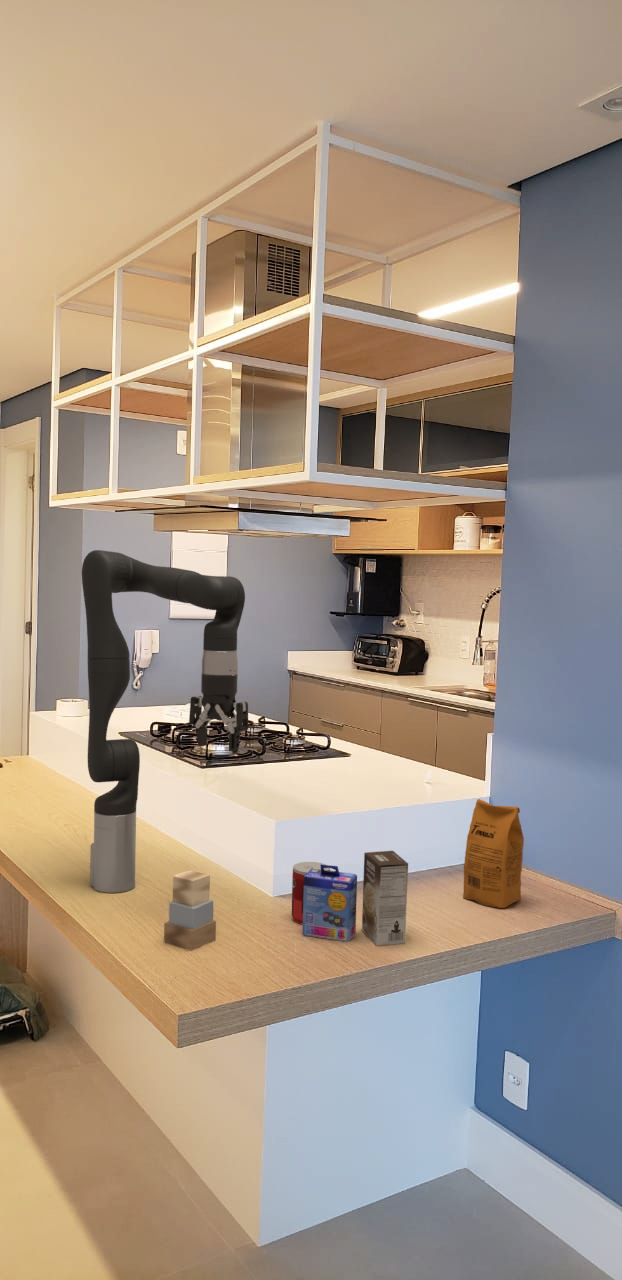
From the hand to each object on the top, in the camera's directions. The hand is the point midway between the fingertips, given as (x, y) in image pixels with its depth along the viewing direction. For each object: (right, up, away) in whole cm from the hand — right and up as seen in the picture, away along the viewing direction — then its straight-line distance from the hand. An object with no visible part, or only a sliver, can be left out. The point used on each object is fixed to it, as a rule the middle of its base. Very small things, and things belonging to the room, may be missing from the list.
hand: (217, 748), depth 210 cm
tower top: (-3, -32, -18) cm, 36 cm away
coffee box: (+34, -36, -12) cm, 51 cm away
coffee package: (+60, -35, +12) cm, 70 cm away
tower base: (-4, -35, -18) cm, 40 cm away
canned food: (+19, -35, -3) cm, 40 cm away
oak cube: (-3, -27, -18) cm, 33 cm away
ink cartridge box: (+23, -36, -12) cm, 44 cm away
